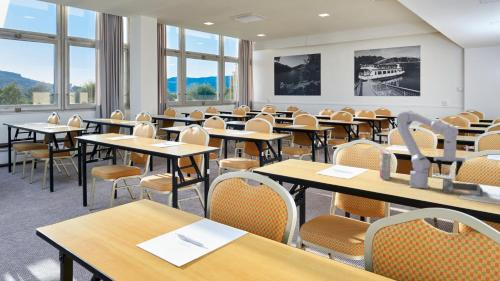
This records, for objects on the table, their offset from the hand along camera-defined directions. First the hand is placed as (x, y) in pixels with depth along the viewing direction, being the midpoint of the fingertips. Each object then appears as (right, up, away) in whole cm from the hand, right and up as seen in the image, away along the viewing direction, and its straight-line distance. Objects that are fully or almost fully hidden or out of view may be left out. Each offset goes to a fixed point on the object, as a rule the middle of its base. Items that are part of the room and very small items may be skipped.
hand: (448, 174), depth 200 cm
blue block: (0, -9, +1) cm, 9 cm away
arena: (+9, -9, -1) cm, 13 cm away
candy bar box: (-22, -5, +33) cm, 40 cm away
